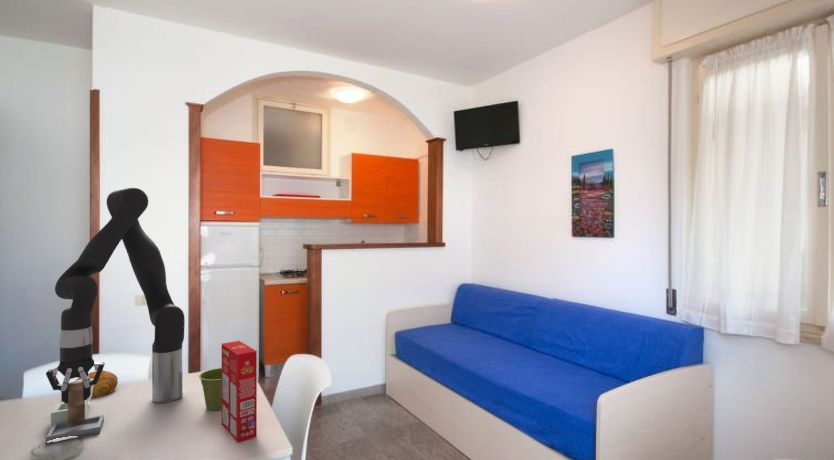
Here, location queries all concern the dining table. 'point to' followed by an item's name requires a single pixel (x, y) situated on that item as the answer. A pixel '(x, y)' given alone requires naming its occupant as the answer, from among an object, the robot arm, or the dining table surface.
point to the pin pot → (63, 413)
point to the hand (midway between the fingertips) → (76, 400)
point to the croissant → (103, 383)
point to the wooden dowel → (76, 403)
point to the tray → (76, 428)
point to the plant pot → (212, 388)
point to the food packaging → (239, 390)
